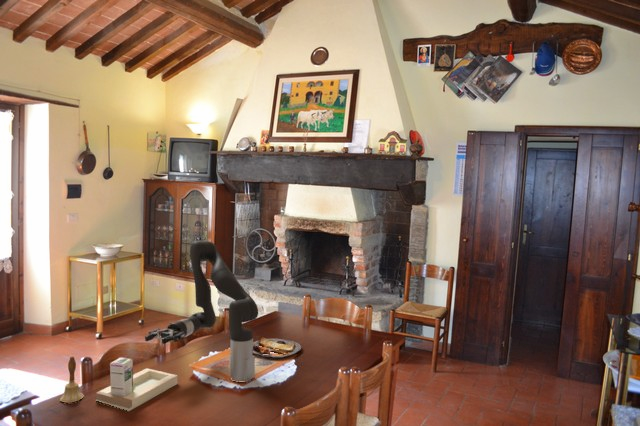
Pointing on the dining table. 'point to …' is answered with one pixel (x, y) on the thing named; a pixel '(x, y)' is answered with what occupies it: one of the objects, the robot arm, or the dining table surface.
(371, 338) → the dining table surface
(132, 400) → the tray
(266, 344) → the food plate
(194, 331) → the robot arm
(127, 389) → the syrup box
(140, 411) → the dining table surface
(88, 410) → the dining table surface
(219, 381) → the dining table surface
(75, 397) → the hand bell
